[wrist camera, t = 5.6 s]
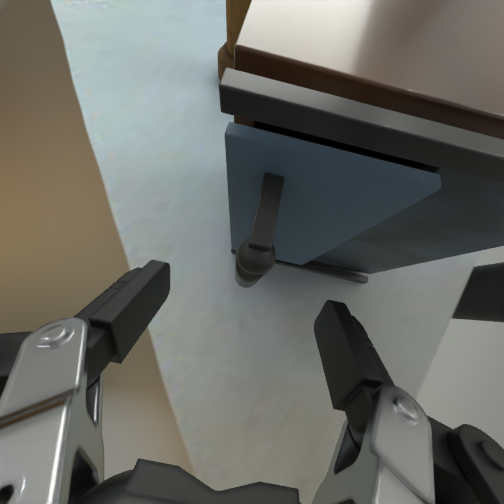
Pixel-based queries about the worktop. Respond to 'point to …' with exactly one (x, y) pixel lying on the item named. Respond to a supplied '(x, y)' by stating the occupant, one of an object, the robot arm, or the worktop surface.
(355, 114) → the cupboard
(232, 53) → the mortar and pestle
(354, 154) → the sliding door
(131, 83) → the worktop surface
